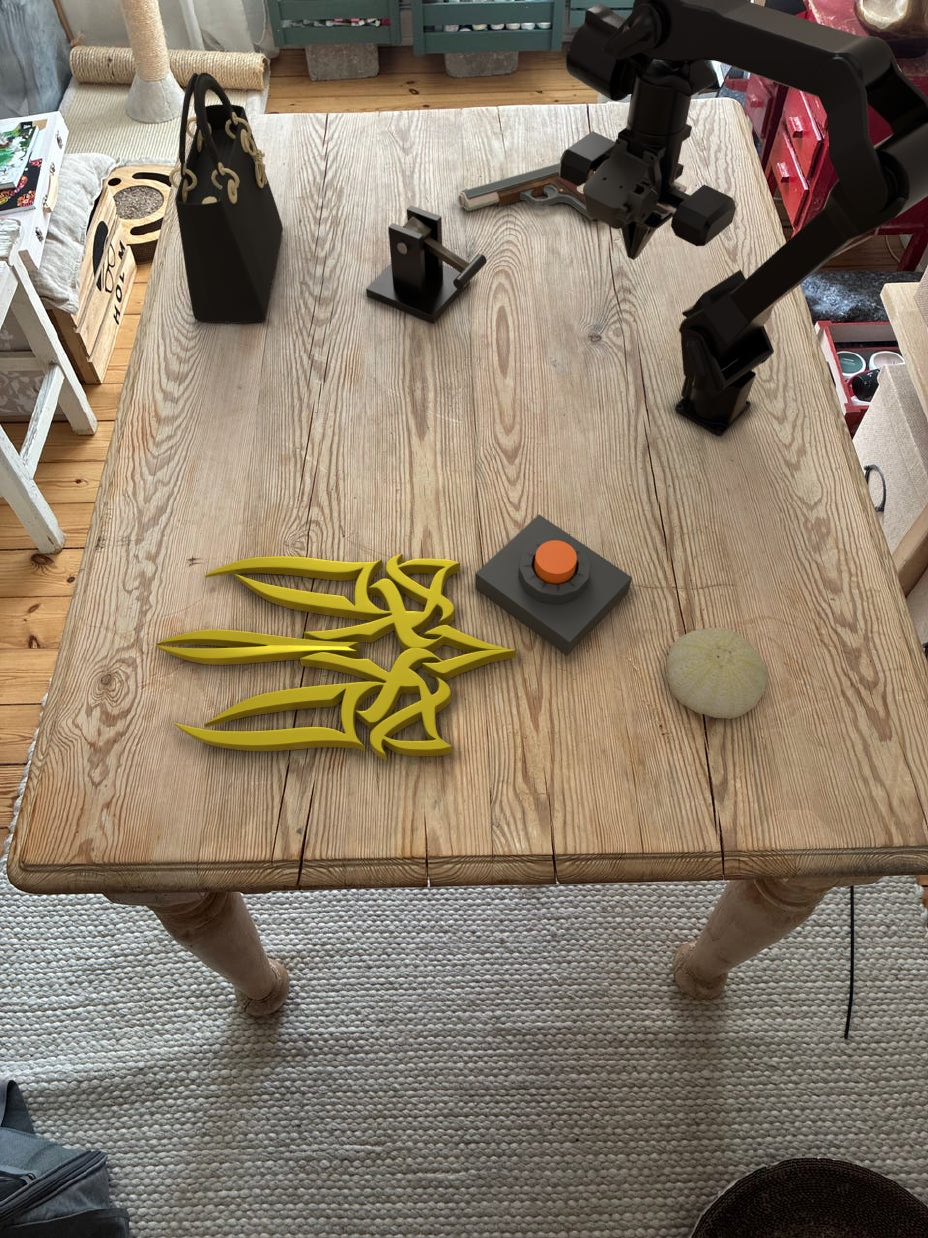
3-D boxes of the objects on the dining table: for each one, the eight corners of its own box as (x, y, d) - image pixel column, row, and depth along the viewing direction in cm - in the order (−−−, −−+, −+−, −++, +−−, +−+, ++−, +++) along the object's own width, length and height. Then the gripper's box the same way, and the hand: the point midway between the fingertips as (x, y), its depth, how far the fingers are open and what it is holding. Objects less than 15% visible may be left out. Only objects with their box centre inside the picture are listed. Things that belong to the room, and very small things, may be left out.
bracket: (470, 282, 120) (470, 214, 112) (432, 323, 116) (430, 256, 108) (405, 257, 123) (400, 188, 115) (366, 296, 119) (358, 228, 110)
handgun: (494, 252, 123) (456, 202, 129) (623, 213, 127) (580, 166, 133) (494, 238, 121) (456, 187, 127) (625, 199, 126) (582, 151, 131)
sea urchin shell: (745, 739, 84) (703, 676, 81) (680, 732, 90) (638, 673, 88) (792, 668, 88) (753, 605, 85) (725, 666, 94) (687, 607, 91)
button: (583, 565, 92) (585, 555, 90) (557, 591, 90) (559, 580, 88) (551, 543, 93) (553, 533, 91) (526, 568, 91) (527, 558, 90)
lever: (484, 269, 115) (489, 254, 112) (460, 294, 112) (465, 280, 110) (416, 223, 115) (420, 208, 113) (391, 248, 113) (395, 233, 110)
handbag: (265, 329, 116) (220, 134, 94) (192, 328, 116) (131, 133, 94) (285, 225, 126) (249, 29, 105) (219, 225, 127) (169, 28, 105)
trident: (515, 757, 83) (128, 747, 84) (514, 764, 85) (133, 754, 86) (516, 555, 95) (176, 548, 96) (515, 564, 97) (180, 557, 97)
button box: (628, 592, 95) (635, 566, 91) (567, 656, 91) (571, 632, 87) (537, 529, 99) (540, 502, 95) (475, 588, 95) (475, 562, 91)
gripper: (530, 118, 91) (522, 256, 104) (689, 195, 84) (659, 332, 98) (599, 72, 95) (584, 210, 109) (756, 142, 89) (719, 279, 102)
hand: (633, 256), depth 104 cm, fingers closed
